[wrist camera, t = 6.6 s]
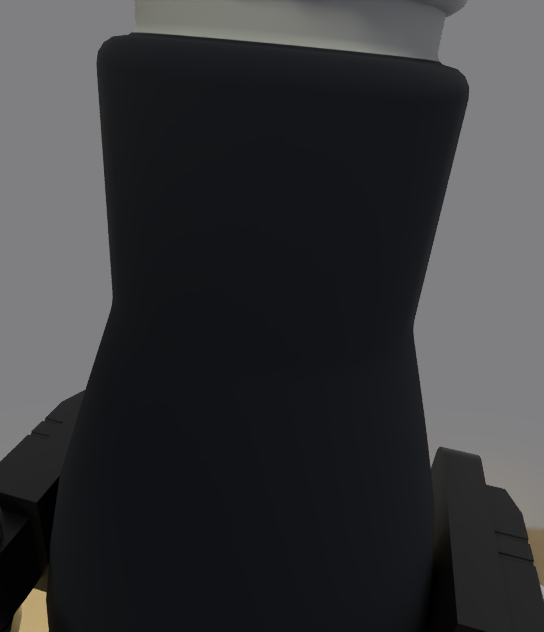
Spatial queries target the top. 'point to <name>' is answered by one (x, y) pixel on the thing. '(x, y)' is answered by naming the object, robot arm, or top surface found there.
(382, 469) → the black insulated water bottle
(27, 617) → the top surface
